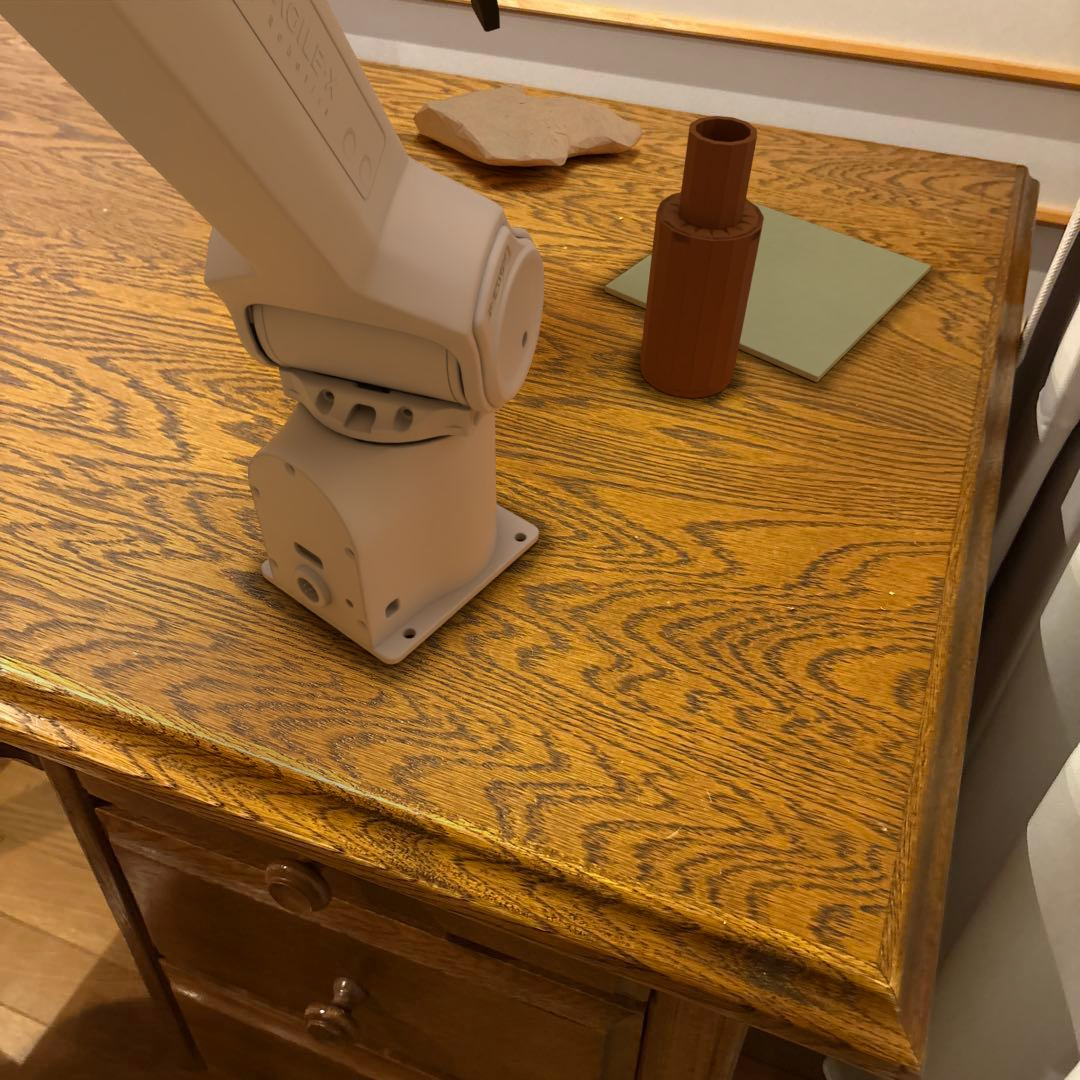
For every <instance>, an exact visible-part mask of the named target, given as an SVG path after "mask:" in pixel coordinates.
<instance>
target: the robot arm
mask: <svg viewBox="0 0 1080 1080" xmlns="http://www.w3.org/2000/svg"><path fill="white" fill-rule="evenodd" d="M470 4H471V5H470V6H471V8H472V10H473V13H474V14H475V16H476V18H477V19H478V22H479V24H480V26H481V27H482V29H483V32H485V33H489V32H492V31H497V30H499V29H501V17H500V8H499V2H498V0H470ZM0 16H1V18H3V19H4V20H5V21H6V22H7V23H8V24H9V25H10V26H11V27H12V28H13V29H14V30H15V31H16V32H17V33H18V35H20V36H21V37H22V38H23V40H25V41H26V42H27V43H28V44H29V45H30V46H31V47H32V48H33V49H34V50H35V51H36V52H37V53H38V54H39V55H40V56H41V57H42V58H43V60H45V61H46V62H47V63H48V64H49V65H50V66H51V67H53V68H52V69H54V70H55V71H56V72H57V73H58V74H59V75H60V76H61V77H62V78H63V79H64V80H65V81H66V82H67V83H68V84H69V85H70V86H71V87H72V88H73V89H74V90H75V91H76V92H77V93H78V94H79V95H80V96H81V97H82V98H83V99H84V100H85V101H86V102H87V103H88V104H89V105H90V106H91V107H92V108H93V109H94V110H95V111H96V112H97V113H98V114H99V115H100V116H101V117H102V118H103V119H104V120H105V121H106V122H107V123H108V124H109V125H110V126H111V127H112V128H113V129H114V130H115V131H116V132H117V133H118V134H119V135H120V136H121V137H122V138H123V139H124V140H125V141H126V142H127V143H128V144H129V145H130V146H131V148H133V149H134V150H135V151H136V152H137V153H138V154H139V155H140V156H141V157H142V158H143V159H144V160H145V161H146V162H147V163H148V164H149V165H150V166H151V167H152V168H153V169H154V170H155V171H156V172H157V173H158V174H159V175H160V176H161V177H162V178H163V179H164V180H165V181H166V182H167V183H168V184H169V185H170V186H171V187H172V188H173V189H174V190H175V191H176V192H177V193H178V194H180V196H181V197H183V199H184V200H185V201H186V202H187V203H189V205H190V206H192V208H193V209H194V210H195V211H196V212H197V213H198V214H200V216H201V217H202V218H203V219H204V220H205V221H207V222H208V224H209V225H210V226H212V227H211V230H210V235H209V237H208V243H207V251H206V257H205V258H206V259H205V266H204V273H203V274H204V275H203V283H204V285H205V286H206V287H207V288H208V289H209V290H210V291H211V292H213V293H214V294H215V295H216V296H217V297H218V298H219V299H220V300H221V301H222V303H223V304H224V305H225V307H226V309H227V310H228V312H229V314H230V317H231V319H232V322H233V325H234V328H235V330H236V331H235V332H236V334H237V336H238V340H239V341H240V343H241V344H242V346H243V348H244V350H245V352H246V353H247V354H248V355H249V357H250V358H252V359H253V360H254V361H256V362H257V363H259V364H260V365H264V366H265V367H274V368H278V371H279V378H280V382H281V386H282V393H283V395H284V396H285V397H288V398H291V399H294V400H296V401H297V402H296V403H295V407H294V408H293V410H292V412H291V413H290V414H289V416H288V418H287V419H286V422H285V423H284V424H283V425H282V427H281V428H280V429H279V430H278V431H277V432H276V433H275V434H274V435H273V437H272V438H270V439H269V441H267V442H266V443H265V444H264V445H263V446H262V447H261V448H259V450H257V451H256V453H255V454H253V456H252V457H251V459H250V460H249V463H248V467H247V481H248V486H249V489H250V494H251V497H252V502H253V504H254V509H255V513H256V516H257V521H258V524H259V529H260V532H261V536H262V540H263V544H264V547H265V552H266V555H267V559H266V560H265V561H264V562H262V564H261V566H260V570H261V575H262V576H263V578H264V579H266V580H267V581H269V582H270V583H271V584H273V585H274V586H275V587H276V588H278V589H280V590H281V591H283V592H284V594H287V595H288V596H289V597H291V598H292V599H293V600H295V601H297V602H298V603H299V604H301V605H302V606H304V607H305V608H306V609H308V610H309V611H310V612H312V613H314V614H315V615H316V616H318V617H319V618H320V619H322V620H323V621H325V623H328V624H329V625H331V626H332V627H333V628H334V629H336V630H338V631H339V632H341V633H342V634H343V635H345V636H346V637H347V638H349V639H350V640H352V641H353V642H354V643H356V644H357V645H359V646H360V647H361V648H363V649H364V650H365V651H367V652H368V653H370V654H371V655H373V656H374V657H375V658H377V659H378V660H379V661H381V662H382V663H384V664H386V665H395V664H399V663H400V662H402V661H403V660H404V659H405V658H406V657H408V656H409V655H410V654H411V653H412V652H413V651H414V650H416V649H417V648H418V647H419V646H420V645H421V644H422V643H424V641H426V640H427V639H428V638H429V637H430V636H432V635H433V633H435V632H436V631H437V630H438V629H440V627H442V626H443V625H444V624H445V623H446V622H447V621H448V620H449V619H451V618H452V617H453V616H454V615H455V614H456V613H457V612H458V611H460V610H461V609H462V608H463V607H464V606H465V605H467V604H468V603H469V602H470V601H471V600H472V599H473V598H474V597H475V596H476V595H478V594H479V593H480V592H481V591H482V590H484V589H485V588H486V587H487V586H488V585H489V584H490V583H491V582H493V581H494V580H495V579H496V578H497V577H498V576H499V575H500V574H501V573H502V572H504V571H505V570H507V568H509V566H511V565H512V564H513V563H514V562H515V561H517V559H518V558H520V557H521V556H522V555H523V554H524V553H525V552H527V551H528V550H529V549H530V548H531V547H532V546H533V545H534V544H536V543H537V541H538V540H539V535H540V534H539V533H540V530H539V528H538V527H537V526H536V525H535V524H533V523H531V522H529V521H527V520H526V519H524V518H522V517H520V516H519V515H517V514H515V513H514V512H511V511H510V510H508V509H506V508H505V507H503V506H501V505H500V504H498V503H497V453H496V449H497V448H496V447H497V446H496V445H497V444H496V412H498V411H501V409H502V408H503V407H504V406H505V405H506V404H507V403H509V402H510V401H511V400H513V399H514V398H515V397H516V395H517V394H518V393H519V392H520V390H521V388H523V387H522V386H523V385H524V383H525V381H526V379H527V376H528V374H529V371H530V368H531V365H532V363H533V360H534V356H535V352H536V349H537V345H538V341H539V340H538V339H539V336H540V331H541V326H542V319H543V313H544V306H545V305H544V303H545V291H546V290H545V288H546V287H545V284H546V283H545V268H544V262H543V258H542V255H541V253H540V251H539V250H538V248H537V247H536V245H535V242H534V240H533V238H532V236H531V235H530V233H529V231H527V230H526V229H524V228H522V227H519V226H518V227H517V226H512V225H510V223H509V220H508V218H507V216H506V213H505V211H504V209H503V207H502V206H501V205H500V204H499V203H497V202H495V201H494V200H492V199H490V198H488V197H486V196H485V195H483V194H481V193H479V192H477V191H476V190H473V189H471V188H470V187H468V186H466V185H465V184H462V183H460V182H458V181H456V180H454V179H452V178H451V177H448V176H446V175H444V174H442V173H440V172H438V171H436V170H434V169H432V168H430V167H428V166H426V165H425V164H423V163H421V162H419V161H418V160H416V159H414V158H412V157H411V156H410V155H409V154H408V152H407V150H406V148H405V146H404V144H403V143H402V140H401V139H400V137H399V135H398V133H397V132H396V129H395V127H394V126H393V124H392V121H391V120H390V117H389V116H388V114H387V112H386V110H385V108H384V107H383V105H382V102H381V101H380V99H379V97H378V95H377V93H376V91H375V90H374V87H373V86H372V84H371V82H370V79H369V78H368V76H367V75H366V73H365V71H364V69H363V67H362V65H361V63H360V61H359V59H358V57H357V55H356V53H355V51H354V49H353V48H352V46H351V44H350V42H349V40H348V38H347V37H346V34H345V33H344V31H343V29H342V27H341V24H340V23H339V21H338V19H337V17H336V15H335V14H334V12H333V10H332V8H331V6H330V4H329V2H328V0H0ZM519 540H520V541H519ZM521 540H522V541H521ZM411 635H412V636H413V637H411V638H408V637H407V636H411Z"/></svg>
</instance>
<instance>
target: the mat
mask: <svg viewBox="0 0 1080 1080" xmlns="http://www.w3.org/2000/svg"><path fill="white" fill-rule="evenodd" d="M749 201H750V200H749ZM750 202H752V203H753V204H755V205H756V206H757V207H759V209H760V211H761V213H762V214H763V216H764V221H763V226H762V231H761V236H760V242H759V247H758V252H757V257H756V262H755V267H754V272H753V277H752V282H751V288H750V293H749V298H748V303H747V308H746V313H745V318H744V323H743V328H742V334H741V339H740V344H739V349H738V350H740V351H742V352H745V353H747V354H749V355H752V356H754V357H756V358H759V359H761V360H763V361H766V362H768V363H770V364H772V365H775V366H777V367H779V368H781V369H784V370H787V371H788V372H791V373H793V374H796V375H798V376H801V377H803V378H805V379H807V380H809V381H812V382H815V383H818V382H819V381H820V380H821V379H822V378H824V376H825V375H826V374H827V373H828V372H829V371H830V370H831V369H832V368H833V367H834V366H835V365H836V364H837V363H838V362H839V361H840V360H841V359H842V358H843V357H844V356H845V355H847V353H848V352H849V351H850V350H851V349H853V347H854V346H855V345H856V344H857V343H858V342H859V341H860V340H861V339H862V338H863V337H864V336H865V335H866V334H868V332H870V330H872V329H873V328H874V326H876V324H878V323H879V321H881V319H883V318H884V317H885V316H886V314H888V313H889V312H890V311H891V310H892V309H893V308H894V307H895V306H896V305H897V304H898V303H899V302H900V301H901V300H902V299H903V298H904V297H905V296H906V295H907V294H908V293H909V292H910V291H911V290H912V289H913V288H914V287H915V286H916V285H917V284H918V283H919V282H920V281H921V280H922V279H923V278H924V277H925V276H927V274H928V273H929V272H930V271H931V267H932V265H931V264H928V263H925V262H923V261H920V260H917V259H914V258H911V257H908V256H905V255H902V254H900V253H898V252H894V251H892V250H889V249H886V248H883V247H881V246H878V245H874V244H871V243H869V242H866V241H863V240H860V239H858V238H855V237H852V236H849V235H847V234H844V233H842V232H838V231H835V230H833V229H829V228H828V227H824V226H822V225H819V224H815V223H813V222H810V221H807V220H805V219H802V218H800V217H796V216H793V215H790V214H787V213H785V212H782V211H779V210H776V209H773V208H770V207H767V206H765V205H762V204H759V203H757V202H754V201H750ZM651 257H652V253H649V254H648V255H647V256H646V257H645V258H643V259H641V260H640V261H638V262H637V263H636V264H635V265H633V266H632V267H630V268H628V269H626V270H625V271H624V272H623V273H621V274H620V275H619V276H617V277H615V278H614V279H613V280H611V281H610V282H608V283H607V284H606V285H605V286H604V292H605V293H608V294H610V295H612V296H614V297H617V298H618V299H621V300H624V301H625V302H628V303H631V304H633V305H636V306H638V307H640V308H642V309H644V310H646V302H647V293H648V284H649V275H650V266H651Z"/></svg>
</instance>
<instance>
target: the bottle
mask: <svg viewBox="0 0 1080 1080" xmlns="http://www.w3.org/2000/svg"><path fill="white" fill-rule="evenodd" d="M757 139H758V129H757V128H756V127H755V126H754V125H752V124H751V123H750V122H748V121H746V120H743V119H740V118H737V117H733V116H722V115H711V116H705V117H699V118H697V119H695V120H694V121H692V122H690V124H689V127H688V136H687V144H686V149H685V150H686V151H685V157H684V165H683V173H682V182H681V188H680V189H681V190H680V192H674V193H672V194H670V195H668V196H667V197H665V198H664V199H662V200H661V201H660V203H659V204H658V206H657V209H656V213H655V221H654V230H653V239H652V248H651V254H652V257H651V266H650V275H649V284H648V293H647V302H646V309H645V310H644V311H645V312H644V321H643V330H642V337H641V347H640V357H639V368H640V372H641V375H642V378H644V380H645V381H646V382H647V383H648V384H649V385H650V386H651V387H653V388H654V389H656V390H658V391H660V392H662V393H664V394H667V395H670V396H673V397H680V398H684V399H685V398H688V399H697V398H698V399H699V398H706V397H710V396H712V395H713V396H714V395H716V394H719V393H720V392H722V391H724V390H725V389H726V388H728V386H729V385H730V384H731V382H732V380H733V377H734V373H735V368H736V363H737V358H738V354H739V350H740V349H739V344H740V339H741V334H742V328H743V323H744V318H745V313H746V308H747V303H748V298H749V293H750V288H751V282H752V277H753V272H754V267H755V262H756V257H757V252H758V247H759V242H760V236H761V231H762V226H763V221H764V216H763V214H762V213H761V211H760V209H759V207H757V206H756V205H755V204H753V203H752V202H753V201H751V202H750V200H749V199H747V194H748V189H749V185H750V179H751V173H752V172H751V171H752V168H753V167H752V166H753V161H754V155H755V152H756V151H755V150H756V145H757Z"/></svg>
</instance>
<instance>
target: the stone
mask: <svg viewBox="0 0 1080 1080" xmlns="http://www.w3.org/2000/svg"><path fill="white" fill-rule="evenodd" d="M412 119H413V122H414V124H415V126H416V128H417V130H418V131H419V133H420V135H423V136H425V137H427V138H430V139H431V140H434V141H436V142H438V143H440V144H442V145H445V146H446V147H449V148H451V149H453V150H455V151H457V152H459V153H461V154H463V155H464V156H466V157H468V158H469V159H471V160H474V161H477V162H480V163H483V164H486V165H490V166H495V167H524V168H527V167H539V166H540V167H541V166H543V167H544V166H546V167H547V166H548V167H549V166H554V167H555V166H556V167H560V166H563V165H565V164H566V161H567V159H569V158H572V157H578V156H586V155H603V154H606V155H607V154H619V153H620V154H621V153H623V152H625V151H627V150H630V149H632V148H633V147H635V146H636V145H637V144H638V143H639V142H640V141H641V139H642V137H643V135H644V134H643V128H642V126H641V124H639V123H636V122H632V121H629V120H627V119H624V118H622V117H621V116H619V115H618V114H616V113H615V111H614V110H612V109H610V108H609V107H607V106H604V105H600V104H599V103H598V104H597V103H594V102H590V101H588V100H583V99H580V98H576V97H573V96H570V95H569V96H553V97H550V96H543V97H542V96H532V95H529V94H526V93H525V90H524V87H523V85H522V84H518V83H508V84H505V85H503V86H501V87H497V88H491V89H484V90H483V89H482V90H478V91H477V90H476V91H472V92H467V93H462V94H456V95H453V96H451V97H446V98H444V99H442V100H431V101H428V102H426V103H425V104H424V105H422V107H420V109H419V110H418V111H417V112H416V113H415V114H414V116H413V118H412Z"/></svg>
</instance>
